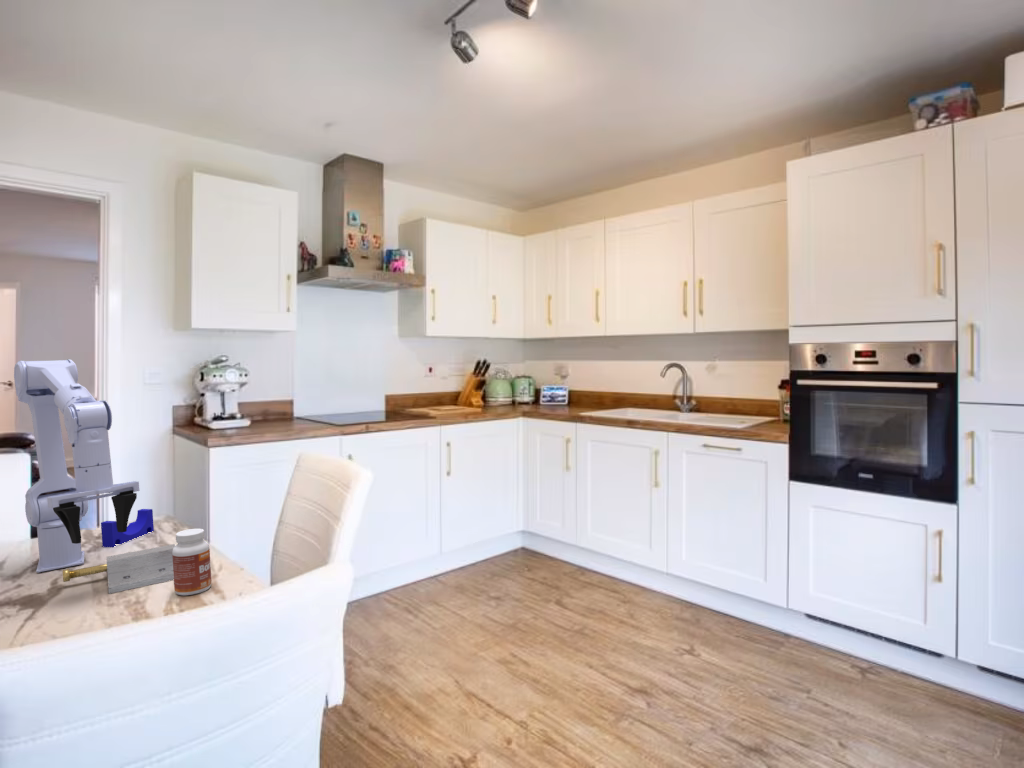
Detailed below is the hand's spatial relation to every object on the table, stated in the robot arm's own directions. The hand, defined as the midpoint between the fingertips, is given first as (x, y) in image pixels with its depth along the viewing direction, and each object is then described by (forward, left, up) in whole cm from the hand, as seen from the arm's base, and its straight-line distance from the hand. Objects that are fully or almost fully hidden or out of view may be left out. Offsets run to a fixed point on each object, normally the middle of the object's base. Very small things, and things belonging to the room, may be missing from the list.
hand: (100, 537), depth 110 cm
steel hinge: (-7, +7, -10) cm, 14 cm away
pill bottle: (+11, +14, -11) cm, 20 cm away
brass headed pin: (-7, 0, -9) cm, 12 cm away
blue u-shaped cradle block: (-36, +5, -11) cm, 38 cm away
